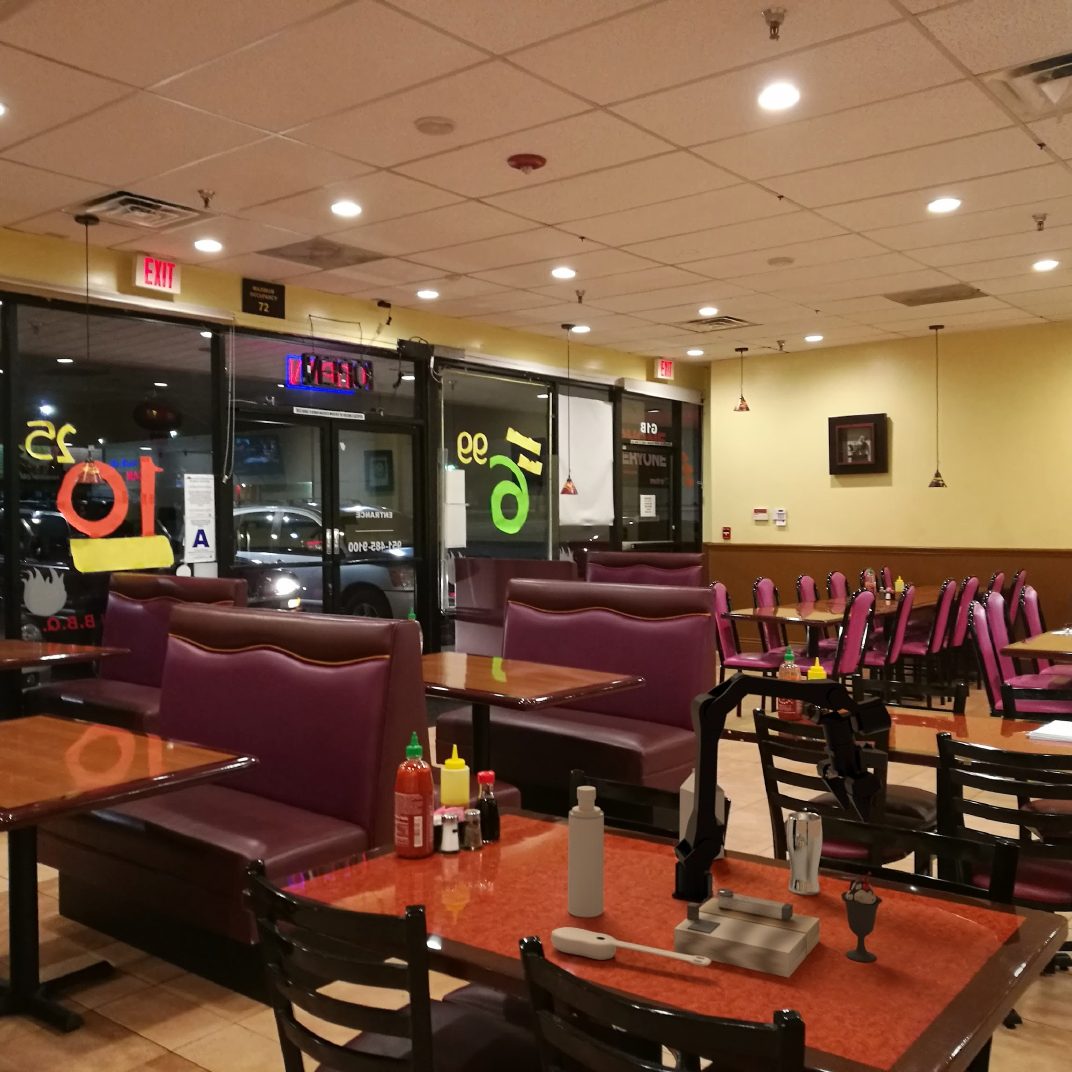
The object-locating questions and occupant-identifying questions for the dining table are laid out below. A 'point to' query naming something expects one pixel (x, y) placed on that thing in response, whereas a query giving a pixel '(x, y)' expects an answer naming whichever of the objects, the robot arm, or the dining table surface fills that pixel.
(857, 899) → the sundae
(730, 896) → the latch bar
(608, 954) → the handheld milk frother
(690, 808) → the milk carton
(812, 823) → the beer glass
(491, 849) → the dining table surface
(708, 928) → the wooden case with bar
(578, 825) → the spray bottle
